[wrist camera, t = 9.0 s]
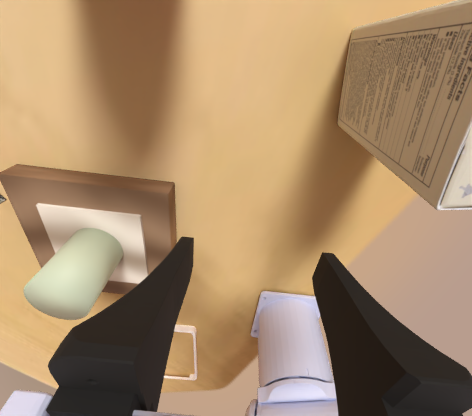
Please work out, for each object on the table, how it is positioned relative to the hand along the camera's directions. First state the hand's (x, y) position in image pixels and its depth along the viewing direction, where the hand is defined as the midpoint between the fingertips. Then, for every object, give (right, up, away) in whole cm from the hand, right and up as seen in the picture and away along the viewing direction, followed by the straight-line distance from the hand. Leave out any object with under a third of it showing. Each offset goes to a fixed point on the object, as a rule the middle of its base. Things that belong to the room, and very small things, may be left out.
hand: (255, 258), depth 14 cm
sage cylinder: (-14, -1, +10) cm, 18 cm away
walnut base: (-14, 0, +12) cm, 19 cm away
